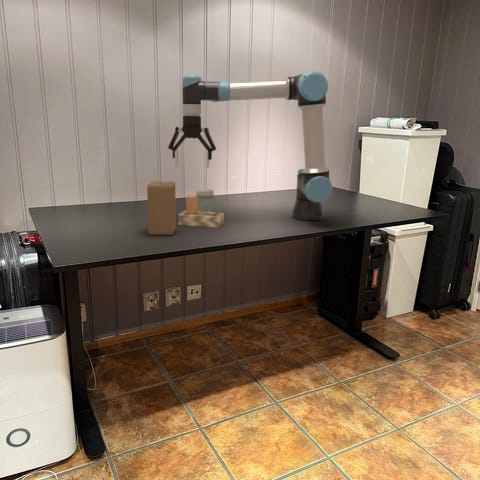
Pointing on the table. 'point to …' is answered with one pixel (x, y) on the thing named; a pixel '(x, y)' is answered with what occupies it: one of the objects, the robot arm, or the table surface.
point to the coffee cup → (205, 200)
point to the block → (161, 208)
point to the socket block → (202, 219)
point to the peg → (192, 205)
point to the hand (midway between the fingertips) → (192, 167)
